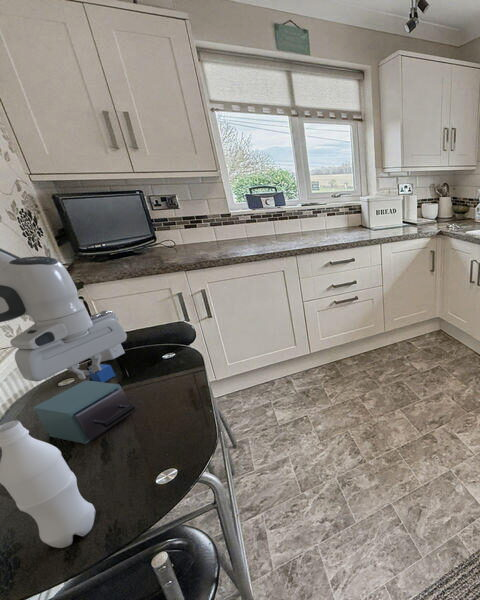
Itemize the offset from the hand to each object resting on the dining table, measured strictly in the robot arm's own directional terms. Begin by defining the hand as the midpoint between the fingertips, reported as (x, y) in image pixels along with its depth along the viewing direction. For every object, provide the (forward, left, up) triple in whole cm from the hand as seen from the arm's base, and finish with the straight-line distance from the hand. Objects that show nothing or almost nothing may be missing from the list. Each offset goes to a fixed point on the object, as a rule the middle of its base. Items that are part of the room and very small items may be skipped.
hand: (91, 374), depth 81 cm
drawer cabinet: (-10, 0, -17) cm, 20 cm away
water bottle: (+22, -23, -17) cm, 36 cm away
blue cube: (-33, +18, -17) cm, 41 cm away
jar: (-47, +30, -17) cm, 58 cm away
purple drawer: (-5, 0, -16) cm, 17 cm away
